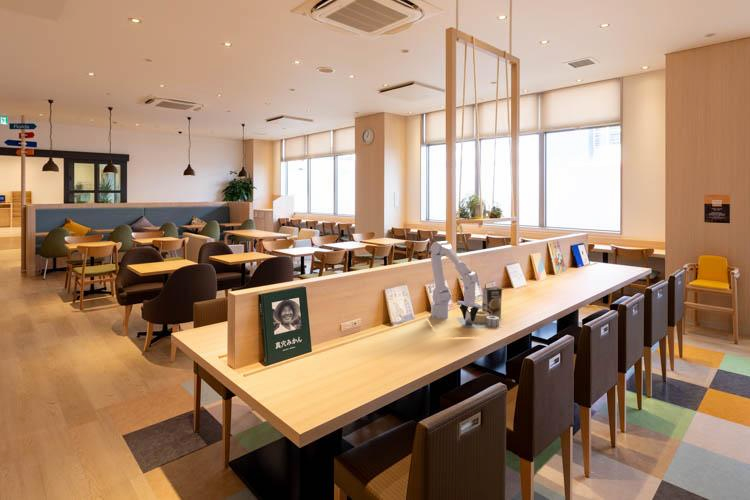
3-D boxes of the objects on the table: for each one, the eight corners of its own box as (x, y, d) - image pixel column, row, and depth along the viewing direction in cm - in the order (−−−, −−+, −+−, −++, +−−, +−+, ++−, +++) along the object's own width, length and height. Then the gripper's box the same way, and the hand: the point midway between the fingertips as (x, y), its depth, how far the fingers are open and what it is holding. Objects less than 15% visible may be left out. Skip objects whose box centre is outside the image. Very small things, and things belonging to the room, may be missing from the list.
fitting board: (464, 330, 236) (464, 320, 235) (456, 319, 256) (456, 310, 255) (502, 329, 237) (502, 319, 236) (491, 318, 257) (491, 309, 256)
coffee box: (487, 317, 258) (487, 290, 256) (481, 314, 265) (482, 287, 262) (501, 316, 261) (502, 289, 259) (495, 313, 267) (496, 286, 265)
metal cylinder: (466, 324, 241) (466, 311, 240) (464, 322, 245) (464, 309, 244) (473, 324, 241) (473, 311, 240) (471, 322, 245) (472, 309, 244)
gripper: (453, 294, 243) (453, 318, 245) (477, 298, 233) (477, 324, 235) (460, 292, 248) (460, 316, 250) (484, 296, 238) (484, 321, 240)
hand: (469, 319), depth 243 cm, fingers closed on metal cylinder, 4 cm apart
